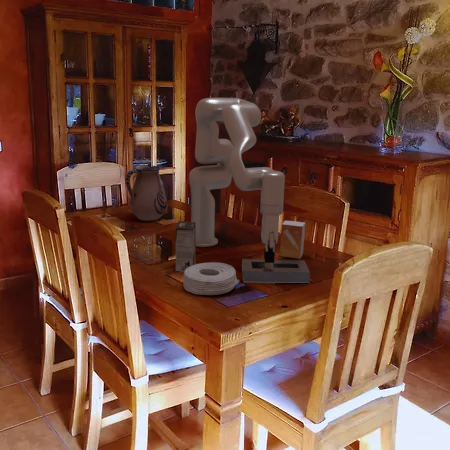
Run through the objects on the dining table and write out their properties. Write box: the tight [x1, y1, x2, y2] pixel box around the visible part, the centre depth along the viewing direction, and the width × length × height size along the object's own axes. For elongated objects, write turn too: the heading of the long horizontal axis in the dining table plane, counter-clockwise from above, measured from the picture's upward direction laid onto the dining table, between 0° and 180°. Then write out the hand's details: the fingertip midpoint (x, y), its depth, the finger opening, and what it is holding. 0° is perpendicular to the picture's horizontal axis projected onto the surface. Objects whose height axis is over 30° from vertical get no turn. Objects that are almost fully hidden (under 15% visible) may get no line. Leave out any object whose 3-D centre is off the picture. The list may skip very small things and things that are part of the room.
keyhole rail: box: [241, 258, 311, 284], centre depth 181 cm, size 22×12×4 cm, turn 91°
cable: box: [182, 262, 240, 296], centre depth 171 cm, size 18×18×6 cm
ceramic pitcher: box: [125, 164, 168, 222], centre depth 248 cm, size 18×21×25 cm
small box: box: [279, 220, 306, 260], centre depth 203 cm, size 8×6×13 cm
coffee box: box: [175, 220, 196, 273], centre depth 186 cm, size 9×6×16 cm
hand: (269, 260), depth 180 cm, fingers closed on peg, 2 cm apart
